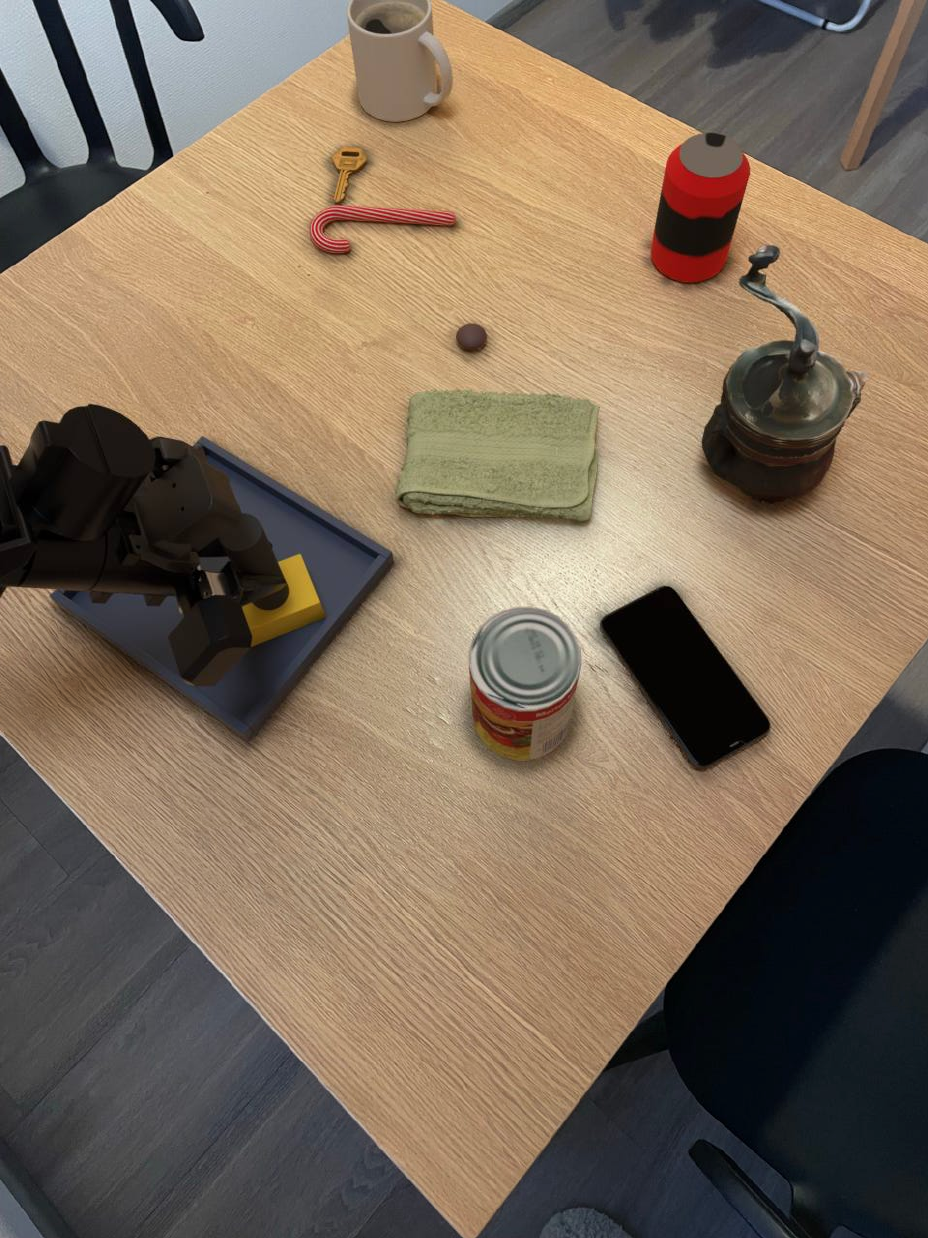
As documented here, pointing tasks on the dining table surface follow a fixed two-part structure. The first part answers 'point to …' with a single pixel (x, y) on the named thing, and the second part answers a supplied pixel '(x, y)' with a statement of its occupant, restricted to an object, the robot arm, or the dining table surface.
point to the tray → (273, 667)
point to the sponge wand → (257, 557)
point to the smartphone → (684, 677)
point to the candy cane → (370, 215)
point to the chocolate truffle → (471, 336)
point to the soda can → (699, 207)
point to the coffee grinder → (779, 406)
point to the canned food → (523, 681)
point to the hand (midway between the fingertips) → (276, 566)
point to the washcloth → (499, 455)
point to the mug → (397, 58)
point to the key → (347, 168)
